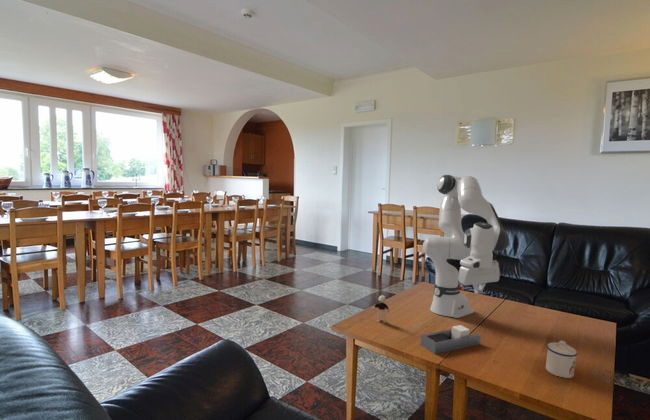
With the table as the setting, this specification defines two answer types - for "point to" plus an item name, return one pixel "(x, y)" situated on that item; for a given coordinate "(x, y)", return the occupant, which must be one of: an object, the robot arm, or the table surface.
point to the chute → (447, 341)
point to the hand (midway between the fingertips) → (478, 293)
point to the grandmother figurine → (381, 309)
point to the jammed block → (459, 331)
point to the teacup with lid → (561, 359)
